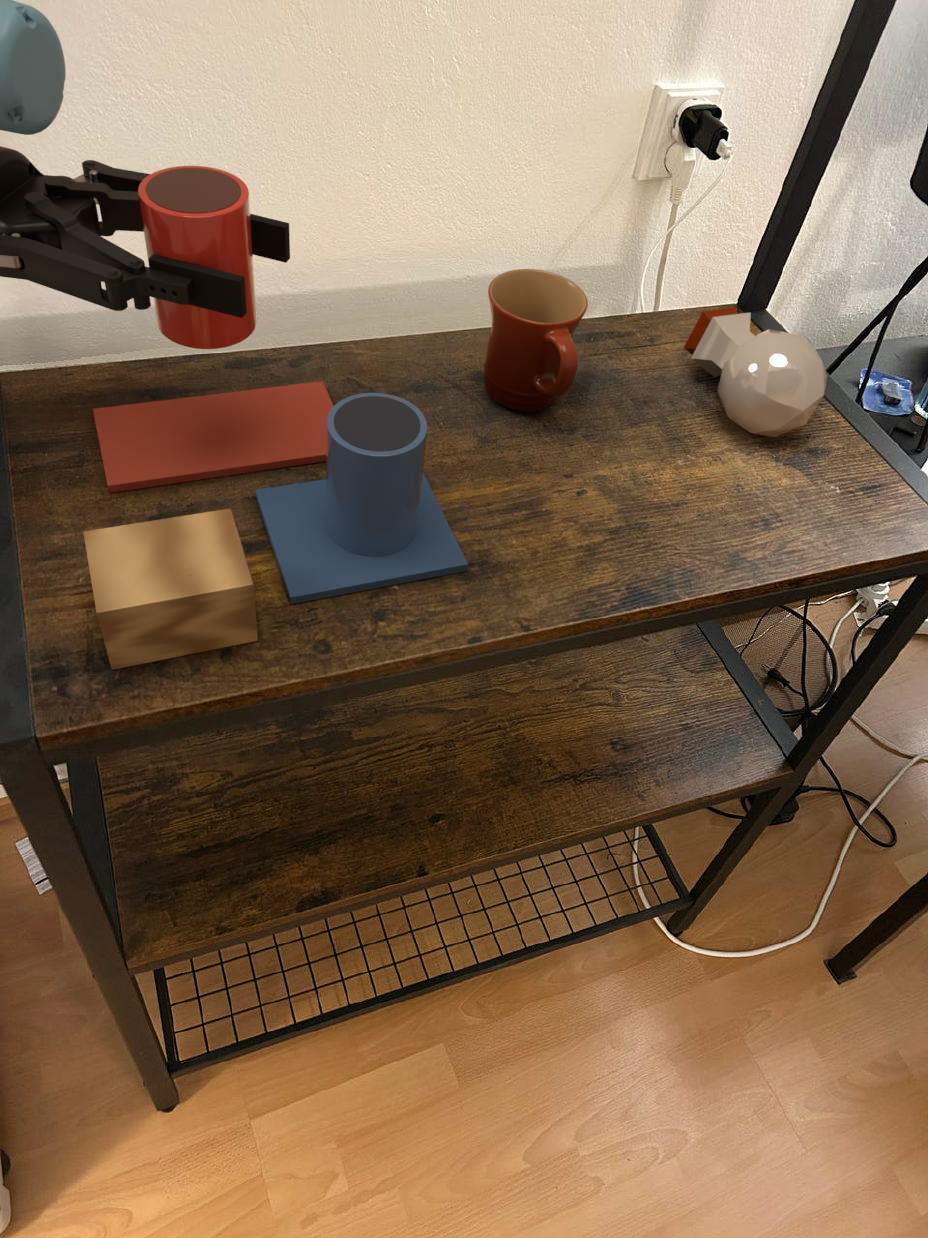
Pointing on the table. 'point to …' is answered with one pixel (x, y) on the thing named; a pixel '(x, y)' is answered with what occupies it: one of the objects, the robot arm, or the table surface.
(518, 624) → the table surface
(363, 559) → the blue mat
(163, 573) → the wooden block
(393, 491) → the blue cup
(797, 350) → the potion bottle
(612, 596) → the table surface
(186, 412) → the red mat
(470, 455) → the table surface
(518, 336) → the mug
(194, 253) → the red cup
